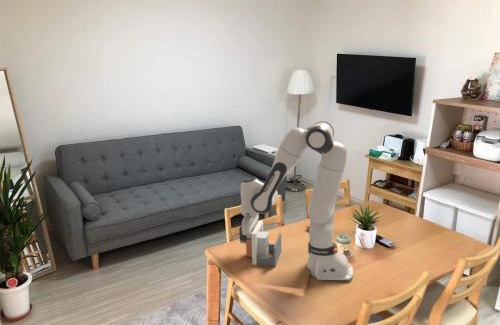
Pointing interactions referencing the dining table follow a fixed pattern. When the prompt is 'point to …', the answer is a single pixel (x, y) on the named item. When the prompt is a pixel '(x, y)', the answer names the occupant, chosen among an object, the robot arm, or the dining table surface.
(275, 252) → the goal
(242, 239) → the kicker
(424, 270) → the dining table surface
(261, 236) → the supplement box
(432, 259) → the dining table surface
